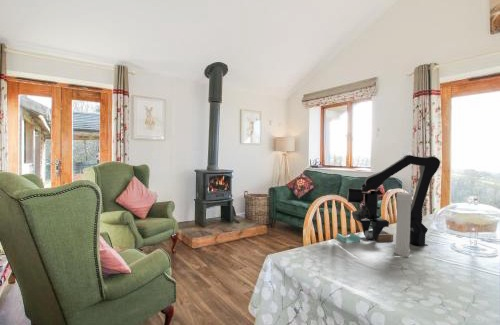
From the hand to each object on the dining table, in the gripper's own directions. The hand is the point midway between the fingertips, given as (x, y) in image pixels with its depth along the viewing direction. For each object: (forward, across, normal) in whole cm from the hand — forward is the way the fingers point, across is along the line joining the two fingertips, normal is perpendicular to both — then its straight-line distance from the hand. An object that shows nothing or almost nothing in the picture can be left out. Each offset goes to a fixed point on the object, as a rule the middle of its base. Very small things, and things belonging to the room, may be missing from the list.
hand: (369, 237), depth 131 cm
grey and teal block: (+1, 0, +3) cm, 3 cm away
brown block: (+1, 0, +5) cm, 5 cm away
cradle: (+1, 0, -10) cm, 11 cm away
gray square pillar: (+1, +19, +2) cm, 19 cm away
